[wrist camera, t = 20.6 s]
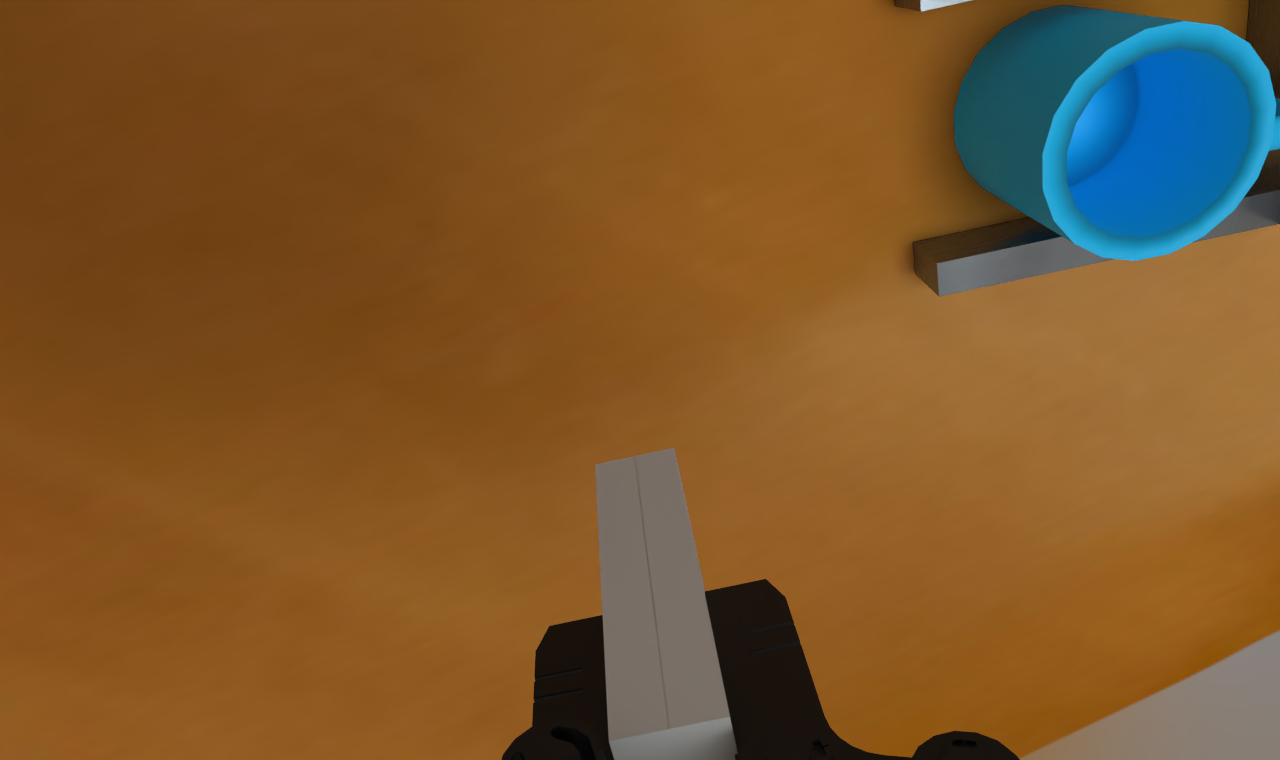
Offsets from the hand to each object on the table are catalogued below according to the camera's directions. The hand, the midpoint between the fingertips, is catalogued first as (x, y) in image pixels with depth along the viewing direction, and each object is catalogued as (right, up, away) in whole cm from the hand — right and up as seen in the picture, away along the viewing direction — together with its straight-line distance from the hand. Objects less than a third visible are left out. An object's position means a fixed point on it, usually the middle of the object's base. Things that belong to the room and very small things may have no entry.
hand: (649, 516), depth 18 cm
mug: (+19, +14, +22) cm, 32 cm away
